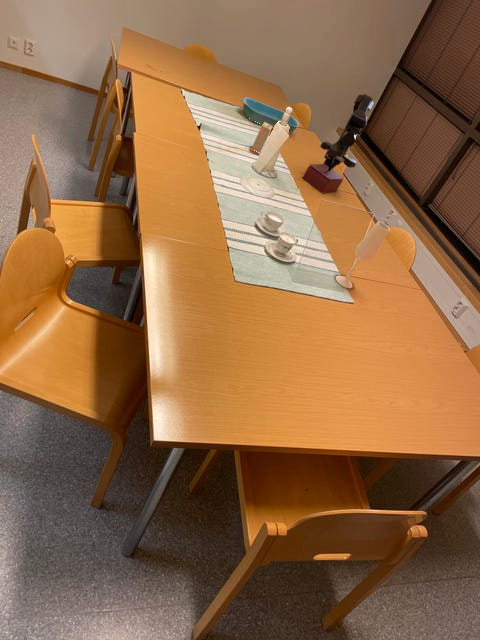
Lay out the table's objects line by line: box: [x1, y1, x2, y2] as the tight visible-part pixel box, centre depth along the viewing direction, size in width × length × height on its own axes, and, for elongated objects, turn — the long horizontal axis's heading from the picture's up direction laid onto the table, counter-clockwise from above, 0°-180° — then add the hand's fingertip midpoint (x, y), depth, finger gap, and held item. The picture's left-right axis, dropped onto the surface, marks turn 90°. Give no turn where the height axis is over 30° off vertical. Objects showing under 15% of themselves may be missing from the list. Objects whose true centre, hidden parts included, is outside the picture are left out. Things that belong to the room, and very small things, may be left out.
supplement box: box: [250, 122, 273, 155], centre depth 227 cm, size 8×5×13 cm, turn 168°
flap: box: [317, 163, 345, 180], centre depth 232 cm, size 7×13×1 cm, turn 48°
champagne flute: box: [335, 221, 391, 289], centre depth 160 cm, size 7×7×24 cm
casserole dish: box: [241, 97, 300, 135], centre depth 273 cm, size 37×22×7 cm, turn 103°
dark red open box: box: [302, 163, 344, 194], centre depth 232 cm, size 15×13×7 cm
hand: (329, 170), depth 231 cm, fingers closed
